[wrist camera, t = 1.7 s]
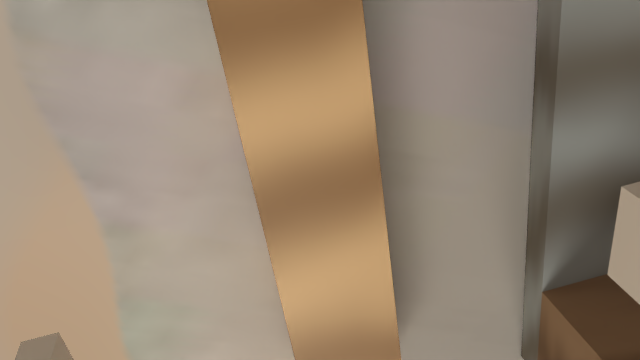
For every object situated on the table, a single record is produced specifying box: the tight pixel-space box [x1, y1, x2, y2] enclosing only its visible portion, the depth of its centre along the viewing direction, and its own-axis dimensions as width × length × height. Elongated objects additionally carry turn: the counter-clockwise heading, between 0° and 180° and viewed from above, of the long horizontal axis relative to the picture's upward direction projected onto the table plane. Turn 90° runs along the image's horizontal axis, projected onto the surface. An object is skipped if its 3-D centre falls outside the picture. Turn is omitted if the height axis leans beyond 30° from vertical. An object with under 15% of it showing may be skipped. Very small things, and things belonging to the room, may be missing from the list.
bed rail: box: [207, 0, 401, 360], centre depth 19 cm, size 28×4×5 cm, turn 9°
